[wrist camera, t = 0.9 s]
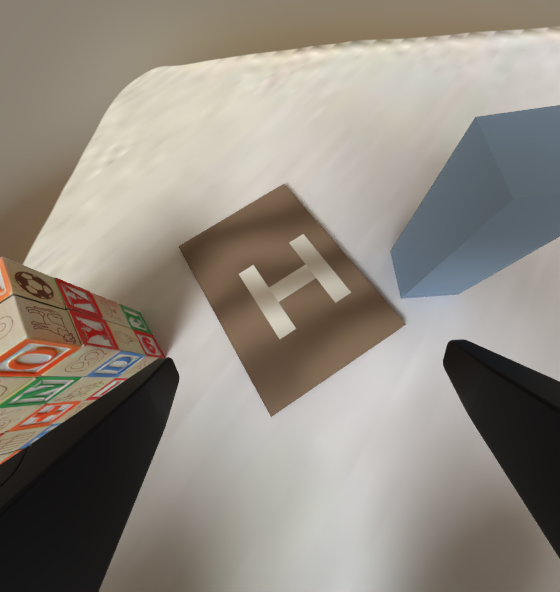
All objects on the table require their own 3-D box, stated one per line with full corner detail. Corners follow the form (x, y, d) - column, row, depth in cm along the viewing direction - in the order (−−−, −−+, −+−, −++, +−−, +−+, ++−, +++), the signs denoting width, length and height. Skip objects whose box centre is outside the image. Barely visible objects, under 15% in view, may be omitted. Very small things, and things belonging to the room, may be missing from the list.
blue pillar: (458, 294, 22) (650, 184, 9) (401, 298, 22) (513, 199, 10) (443, 246, 23) (590, 100, 11) (390, 251, 24) (475, 117, 12)
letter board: (403, 325, 21) (406, 324, 21) (272, 415, 20) (271, 416, 19) (284, 187, 28) (283, 183, 27) (181, 249, 27) (178, 246, 26)
